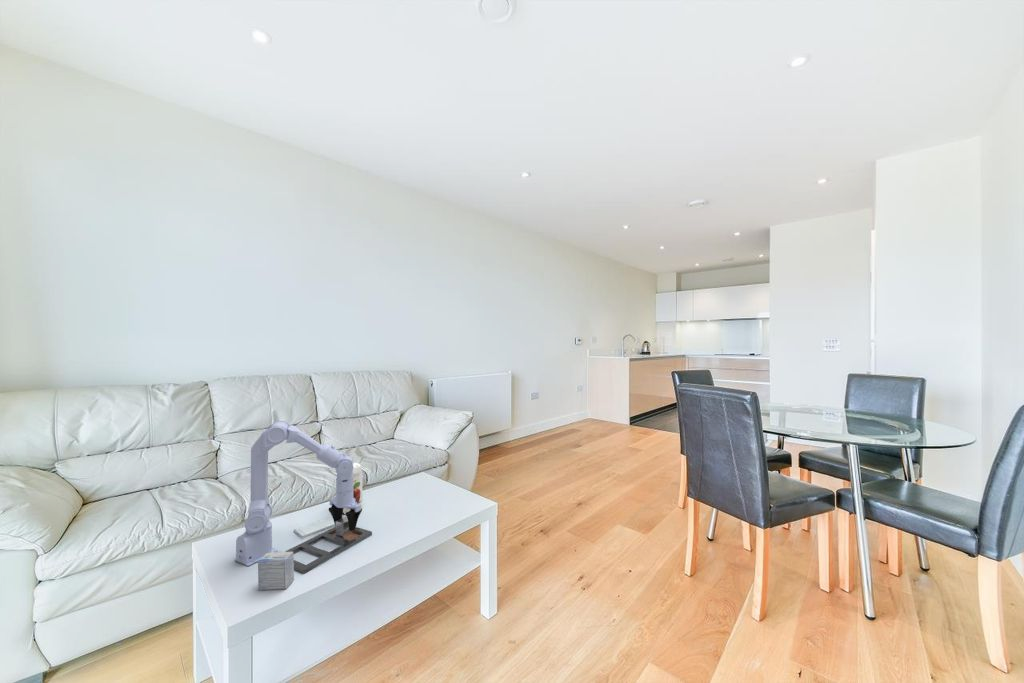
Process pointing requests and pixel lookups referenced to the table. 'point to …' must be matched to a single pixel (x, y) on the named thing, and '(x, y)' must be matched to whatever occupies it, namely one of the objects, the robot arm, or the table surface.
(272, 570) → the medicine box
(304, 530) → the hard drive
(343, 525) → the grey metal block
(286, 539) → the table surface
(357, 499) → the juice carton
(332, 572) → the table surface
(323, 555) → the grey window frame
